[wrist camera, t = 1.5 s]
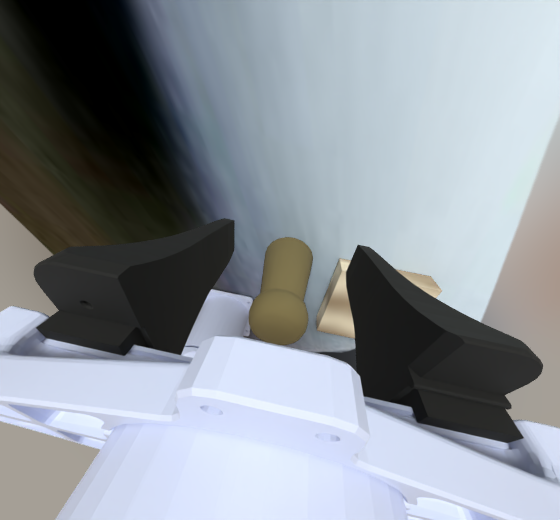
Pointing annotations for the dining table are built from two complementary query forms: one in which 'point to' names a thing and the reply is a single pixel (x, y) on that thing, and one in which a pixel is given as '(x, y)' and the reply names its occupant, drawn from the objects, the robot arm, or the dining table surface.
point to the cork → (282, 293)
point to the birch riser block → (337, 306)
